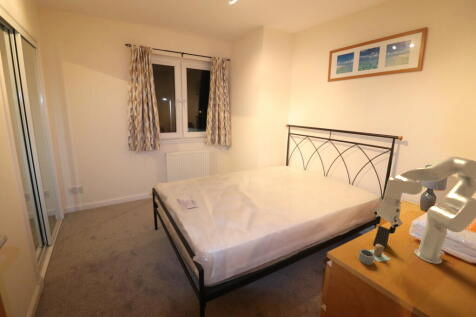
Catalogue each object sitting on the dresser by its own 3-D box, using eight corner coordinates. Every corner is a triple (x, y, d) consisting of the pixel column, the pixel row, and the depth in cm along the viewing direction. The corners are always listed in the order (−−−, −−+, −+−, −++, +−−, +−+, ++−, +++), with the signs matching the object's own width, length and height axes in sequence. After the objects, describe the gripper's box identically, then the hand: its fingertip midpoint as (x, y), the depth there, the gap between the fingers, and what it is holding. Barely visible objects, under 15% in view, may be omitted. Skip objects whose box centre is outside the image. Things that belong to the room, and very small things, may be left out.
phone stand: (383, 250, 136) (388, 232, 134) (372, 245, 140) (376, 227, 138) (387, 244, 143) (391, 227, 140) (376, 240, 147) (381, 223, 144)
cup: (365, 255, 129) (367, 248, 128) (376, 264, 122) (377, 257, 121) (355, 256, 127) (356, 249, 126) (364, 265, 121) (366, 258, 120)
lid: (376, 250, 136) (378, 240, 135) (390, 260, 127) (393, 250, 126) (364, 251, 133) (366, 241, 132) (377, 262, 125) (380, 252, 123)
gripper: (412, 207, 115) (403, 236, 119) (383, 193, 132) (376, 220, 135) (400, 207, 113) (391, 237, 117) (373, 193, 130) (366, 220, 134)
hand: (383, 228), depth 126 cm, fingers open, 9 cm apart
